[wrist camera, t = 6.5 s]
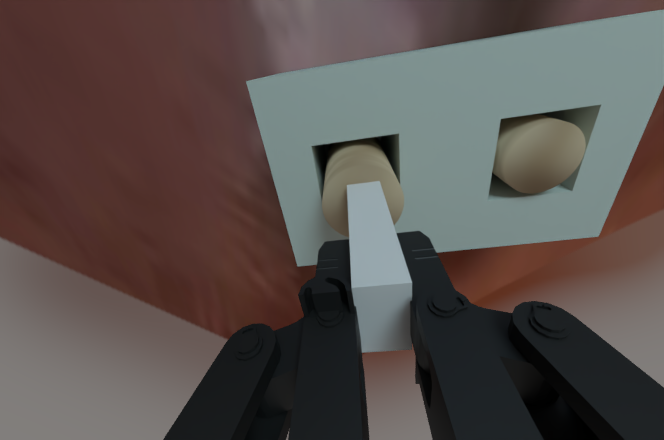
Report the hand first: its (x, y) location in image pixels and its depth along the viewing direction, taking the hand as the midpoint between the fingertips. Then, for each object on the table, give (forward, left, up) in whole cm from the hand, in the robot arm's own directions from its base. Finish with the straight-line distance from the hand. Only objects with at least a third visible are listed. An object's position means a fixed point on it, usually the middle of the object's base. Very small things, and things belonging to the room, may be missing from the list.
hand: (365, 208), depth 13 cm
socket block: (+5, 0, -12) cm, 13 cm away
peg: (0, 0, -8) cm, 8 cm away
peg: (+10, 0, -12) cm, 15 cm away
